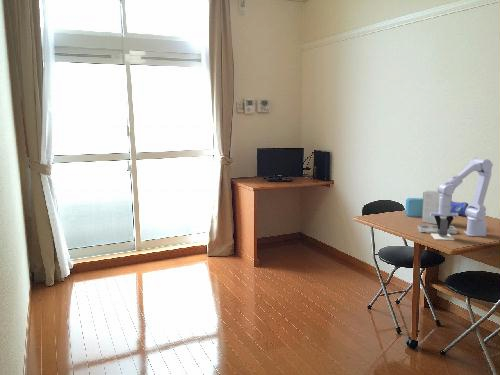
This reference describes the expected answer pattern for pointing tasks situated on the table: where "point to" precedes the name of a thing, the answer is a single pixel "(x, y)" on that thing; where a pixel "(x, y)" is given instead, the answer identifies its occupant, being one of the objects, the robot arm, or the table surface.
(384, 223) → the table surface
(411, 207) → the data package
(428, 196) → the hard drive box
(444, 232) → the square block
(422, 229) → the grey rail
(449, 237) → the mat
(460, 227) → the table surface
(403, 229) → the table surface
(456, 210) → the pencil case
